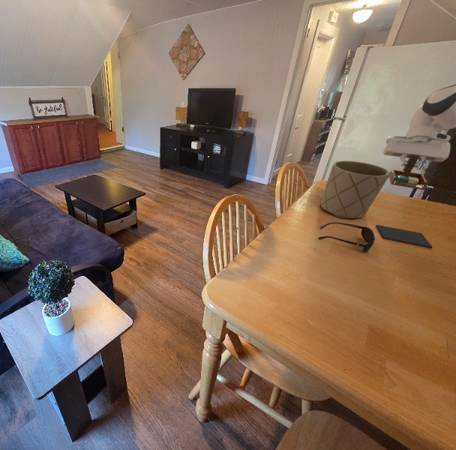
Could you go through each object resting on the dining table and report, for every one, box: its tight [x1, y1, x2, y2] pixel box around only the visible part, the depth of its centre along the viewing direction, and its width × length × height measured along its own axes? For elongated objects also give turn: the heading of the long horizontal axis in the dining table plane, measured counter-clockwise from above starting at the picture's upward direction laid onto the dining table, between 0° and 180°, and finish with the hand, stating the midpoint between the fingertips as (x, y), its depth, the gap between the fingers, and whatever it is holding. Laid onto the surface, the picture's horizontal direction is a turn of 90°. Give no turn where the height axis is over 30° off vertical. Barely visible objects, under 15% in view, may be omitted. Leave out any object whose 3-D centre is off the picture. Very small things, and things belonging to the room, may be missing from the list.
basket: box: [388, 154, 429, 191], centre depth 101 cm, size 14×10×10 cm
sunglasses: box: [318, 221, 376, 253], centre depth 89 cm, size 14×16×5 cm
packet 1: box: [396, 175, 407, 182], centre depth 103 cm, size 4×3×2 cm
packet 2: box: [407, 177, 419, 184], centre depth 101 cm, size 4×3×2 cm
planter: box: [320, 160, 391, 219], centre depth 105 cm, size 19×19×20 cm
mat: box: [376, 224, 433, 249], centre depth 93 cm, size 14×10×1 cm
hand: (409, 166), depth 105 cm, fingers closed on basket, 2 cm apart
